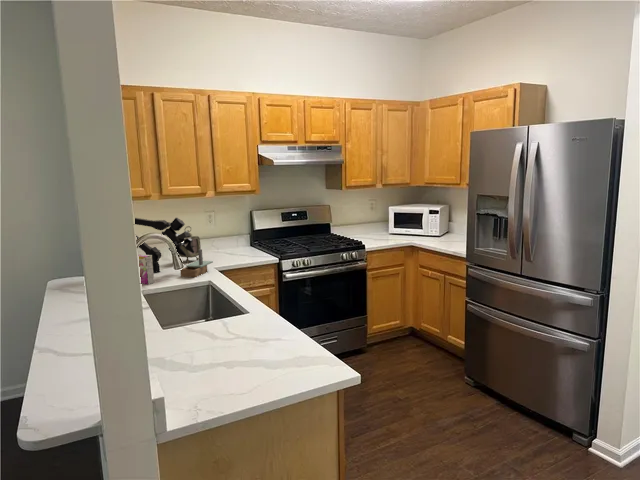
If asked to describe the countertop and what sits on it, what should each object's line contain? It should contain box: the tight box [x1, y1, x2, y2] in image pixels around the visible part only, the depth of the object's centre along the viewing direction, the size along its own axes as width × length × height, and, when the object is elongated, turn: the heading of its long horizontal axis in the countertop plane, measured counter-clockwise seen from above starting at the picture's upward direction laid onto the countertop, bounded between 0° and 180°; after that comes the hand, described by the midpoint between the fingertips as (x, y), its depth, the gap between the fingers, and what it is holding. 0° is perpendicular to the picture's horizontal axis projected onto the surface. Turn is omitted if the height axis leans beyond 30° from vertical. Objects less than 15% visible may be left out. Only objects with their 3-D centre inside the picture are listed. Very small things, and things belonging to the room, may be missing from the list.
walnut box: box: [179, 265, 208, 278], centre depth 267 cm, size 14×10×4 cm
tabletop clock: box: [178, 225, 201, 264], centre depth 305 cm, size 14×9×25 cm, turn 158°
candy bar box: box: [137, 253, 155, 285], centre depth 249 cm, size 11×5×16 cm, turn 65°
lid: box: [185, 249, 214, 267], centre depth 273 cm, size 14×10×10 cm
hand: (189, 254), depth 270 cm, fingers open, 9 cm apart
